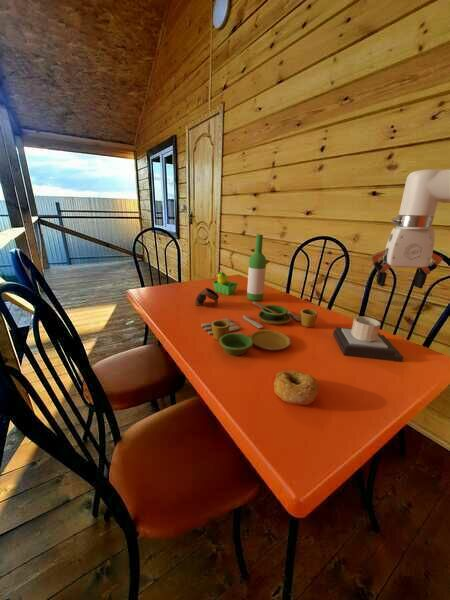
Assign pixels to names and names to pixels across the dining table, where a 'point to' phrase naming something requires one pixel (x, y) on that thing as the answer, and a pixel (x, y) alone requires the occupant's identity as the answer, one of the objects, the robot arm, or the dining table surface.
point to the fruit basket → (224, 284)
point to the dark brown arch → (209, 294)
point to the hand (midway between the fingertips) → (398, 286)
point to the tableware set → (262, 338)
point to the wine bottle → (256, 272)
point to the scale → (367, 348)
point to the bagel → (296, 387)
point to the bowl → (365, 328)
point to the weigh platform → (354, 341)
